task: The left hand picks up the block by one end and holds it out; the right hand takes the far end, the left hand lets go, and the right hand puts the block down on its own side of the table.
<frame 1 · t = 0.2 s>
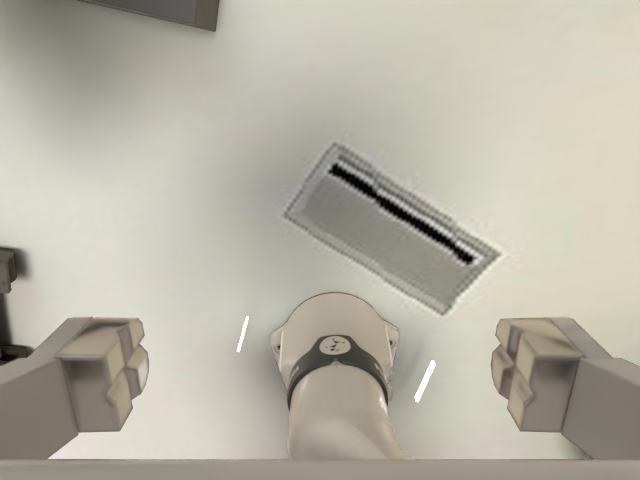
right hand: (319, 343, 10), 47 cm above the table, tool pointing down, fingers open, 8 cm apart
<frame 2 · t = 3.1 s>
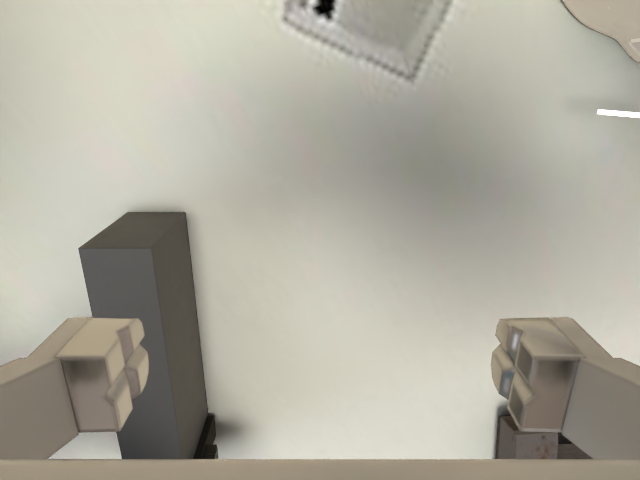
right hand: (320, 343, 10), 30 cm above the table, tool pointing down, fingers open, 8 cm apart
toy: (575, 478, 53), on the table
block: (173, 341, 46), on the table, touching left hand
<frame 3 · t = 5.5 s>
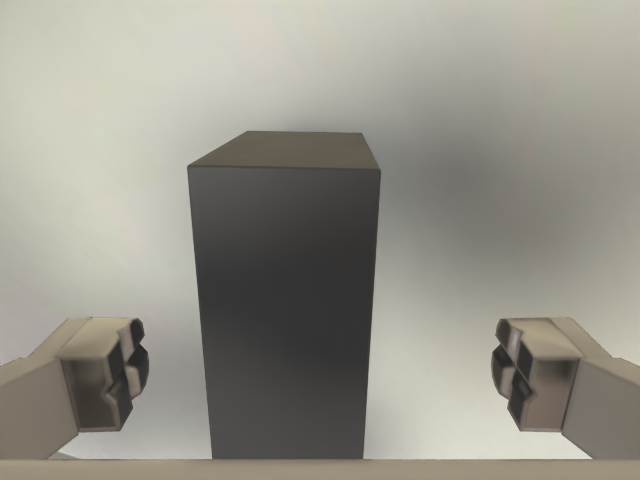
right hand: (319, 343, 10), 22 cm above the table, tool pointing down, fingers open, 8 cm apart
block: (303, 381, 25), point 10 cm above the table, touching left hand
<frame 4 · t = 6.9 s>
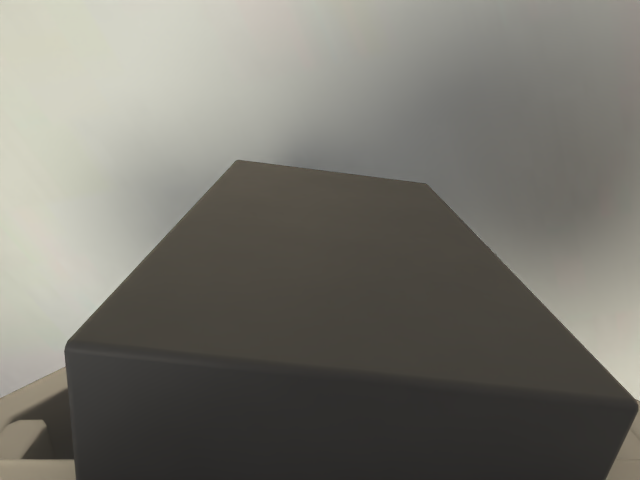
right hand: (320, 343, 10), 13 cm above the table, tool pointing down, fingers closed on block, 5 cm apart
when the left hand's fingers open (10 cm above the table, at t = 8.0 s): block stays where it is, held by the right hand.
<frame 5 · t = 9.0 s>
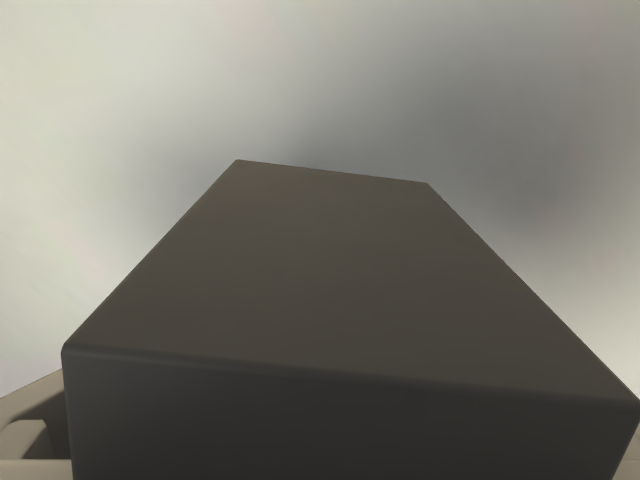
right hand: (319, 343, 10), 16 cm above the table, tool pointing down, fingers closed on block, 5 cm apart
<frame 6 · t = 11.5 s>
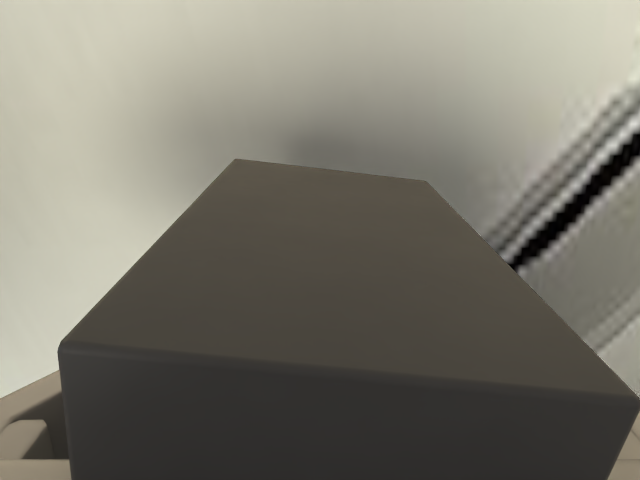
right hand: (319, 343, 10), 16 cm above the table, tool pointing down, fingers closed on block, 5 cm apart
when the right hand's fingers open (5 cm above the table, at t = 16.0 s): block drops 1 cm, on the table.
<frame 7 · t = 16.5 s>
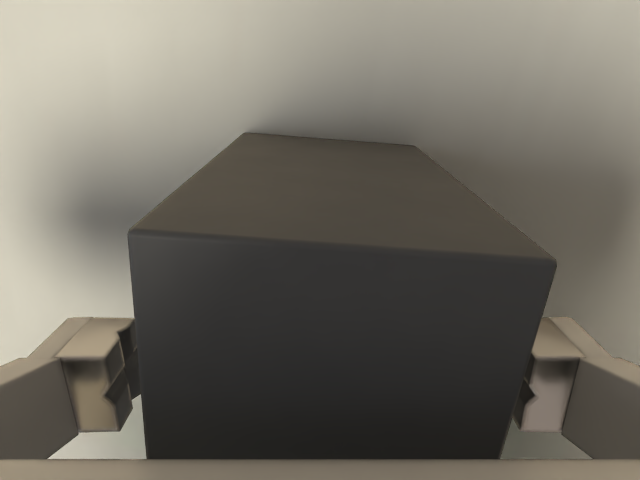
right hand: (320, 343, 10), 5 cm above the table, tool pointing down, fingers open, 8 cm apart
block: (302, 472, 19), on the table
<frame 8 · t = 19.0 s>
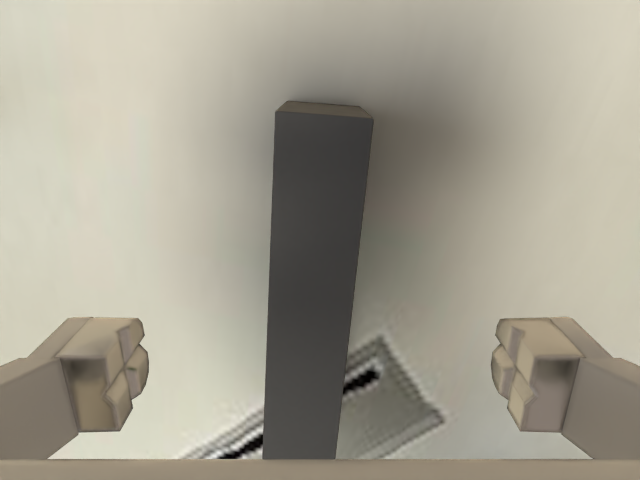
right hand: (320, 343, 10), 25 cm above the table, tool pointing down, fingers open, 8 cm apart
block: (310, 275, 38), on the table
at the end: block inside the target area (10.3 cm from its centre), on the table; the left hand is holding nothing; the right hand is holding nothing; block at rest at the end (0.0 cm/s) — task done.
